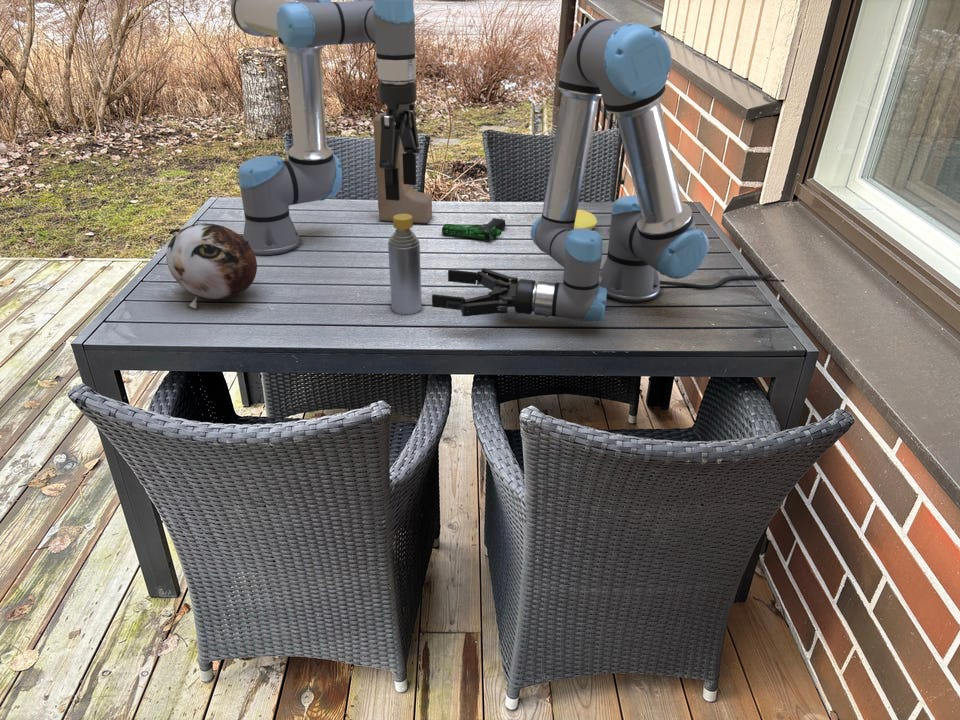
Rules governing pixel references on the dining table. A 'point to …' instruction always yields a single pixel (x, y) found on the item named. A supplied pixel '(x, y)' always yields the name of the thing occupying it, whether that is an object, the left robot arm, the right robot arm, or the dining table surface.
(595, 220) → the yellow pot lid
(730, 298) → the dining table surface
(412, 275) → the bottle
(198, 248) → the cat face ball
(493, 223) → the handgun
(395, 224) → the cap
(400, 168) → the decorative block
